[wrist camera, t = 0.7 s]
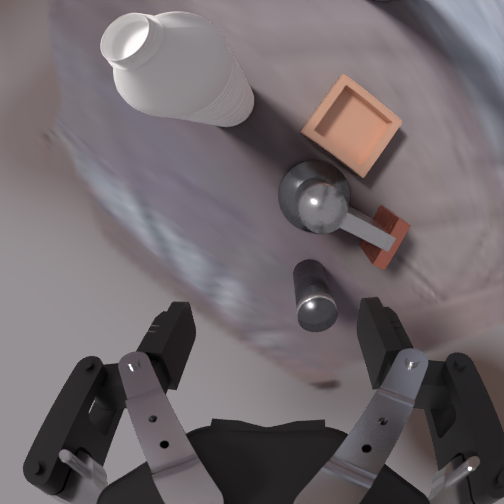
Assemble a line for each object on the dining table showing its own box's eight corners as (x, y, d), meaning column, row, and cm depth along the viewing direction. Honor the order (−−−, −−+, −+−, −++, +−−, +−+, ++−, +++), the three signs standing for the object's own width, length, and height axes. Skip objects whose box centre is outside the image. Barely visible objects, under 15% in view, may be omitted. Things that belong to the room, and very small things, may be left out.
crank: (286, 211, 33) (289, 226, 28) (307, 166, 31) (314, 173, 26) (369, 249, 35) (384, 270, 29) (391, 210, 32) (410, 225, 27)
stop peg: (305, 253, 37) (314, 292, 28) (331, 269, 38) (346, 311, 28) (286, 277, 38) (289, 321, 29) (311, 292, 39) (320, 338, 30)
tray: (338, 77, 27) (343, 73, 25) (394, 122, 29) (402, 121, 26) (299, 132, 31) (301, 132, 28) (357, 175, 32) (363, 178, 30)
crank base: (305, 145, 31) (306, 146, 30) (361, 188, 33) (363, 189, 32) (264, 204, 35) (264, 206, 34) (321, 242, 36) (322, 244, 35)
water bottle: (256, 124, 31) (208, 92, 8) (203, 129, 31) (61, 130, 8) (251, 59, 27) (203, -72, 4) (199, 65, 28) (73, -24, 5)
